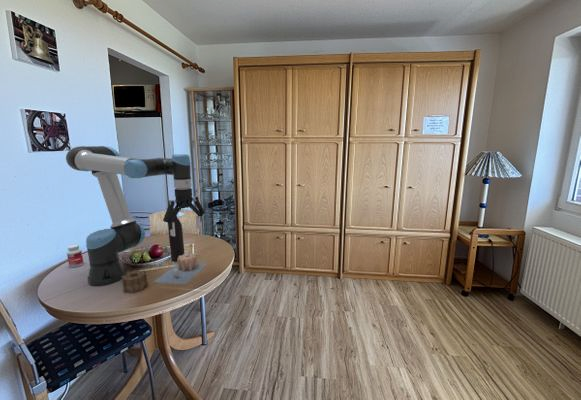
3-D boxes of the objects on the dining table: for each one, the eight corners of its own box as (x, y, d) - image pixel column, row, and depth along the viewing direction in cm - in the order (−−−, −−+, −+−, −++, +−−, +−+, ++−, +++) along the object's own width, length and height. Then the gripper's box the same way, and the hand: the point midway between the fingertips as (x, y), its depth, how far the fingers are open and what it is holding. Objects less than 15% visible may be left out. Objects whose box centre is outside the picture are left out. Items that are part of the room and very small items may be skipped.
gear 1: (118, 292, 117) (116, 279, 116) (133, 281, 126) (132, 269, 125) (137, 293, 116) (136, 280, 114) (152, 282, 125) (150, 270, 124)
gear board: (153, 283, 124) (152, 274, 123) (179, 263, 145) (178, 255, 144) (185, 286, 122) (184, 276, 121) (206, 265, 143) (206, 256, 142)
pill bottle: (68, 268, 140) (64, 249, 138) (70, 264, 146) (66, 245, 143) (83, 266, 144) (79, 246, 141) (84, 262, 149) (81, 243, 147)
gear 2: (174, 270, 135) (173, 257, 134) (184, 262, 144) (183, 250, 143) (192, 271, 134) (190, 258, 132) (201, 263, 143) (200, 251, 142)
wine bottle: (187, 259, 151) (183, 207, 145) (177, 264, 145) (172, 210, 139) (178, 257, 154) (173, 206, 148) (168, 261, 148) (163, 209, 142)
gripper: (161, 192, 110) (165, 240, 115) (210, 185, 130) (212, 227, 134) (152, 190, 115) (156, 237, 119) (201, 184, 134) (203, 224, 139)
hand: (186, 232), depth 127 cm, fingers open, 13 cm apart
